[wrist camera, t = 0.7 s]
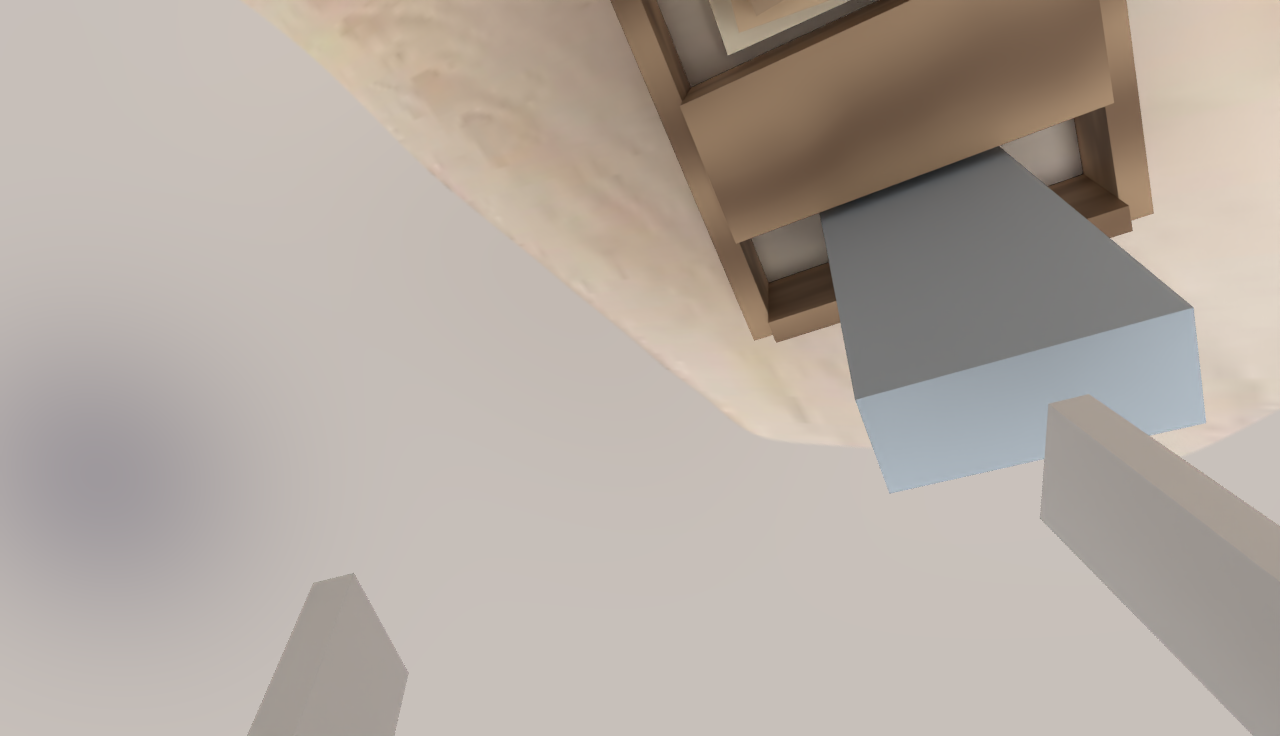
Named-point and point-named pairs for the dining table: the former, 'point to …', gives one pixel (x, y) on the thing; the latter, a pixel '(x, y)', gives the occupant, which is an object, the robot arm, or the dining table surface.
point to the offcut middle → (767, 12)
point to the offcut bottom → (739, 41)
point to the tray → (890, 121)
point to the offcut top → (763, 5)
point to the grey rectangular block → (996, 321)
